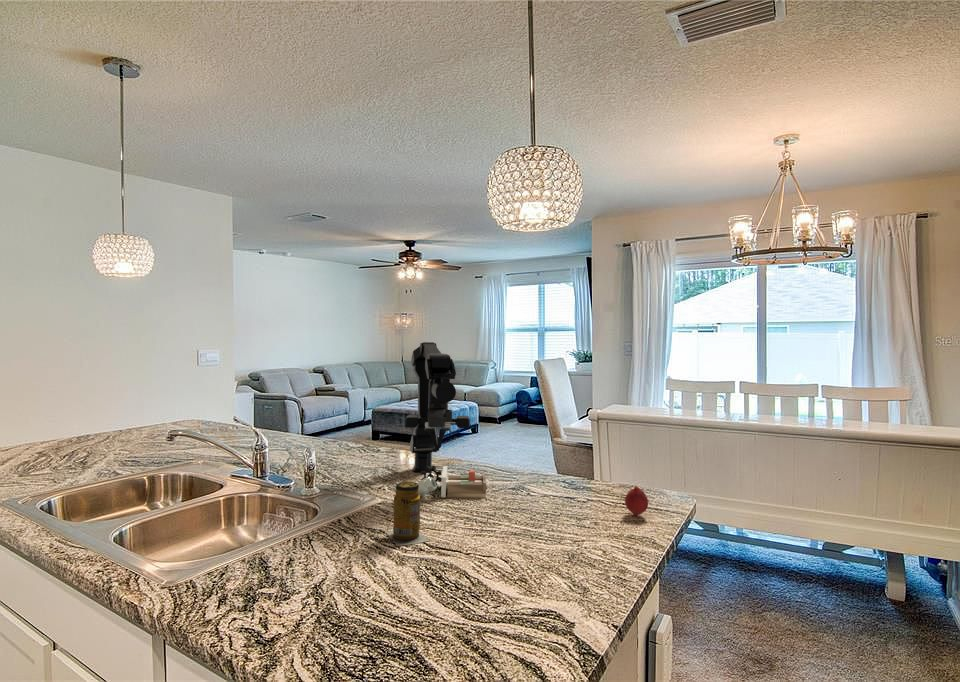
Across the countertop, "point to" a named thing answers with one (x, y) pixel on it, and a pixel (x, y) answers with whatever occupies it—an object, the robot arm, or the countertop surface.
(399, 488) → the condiment
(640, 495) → the onion
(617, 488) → the countertop surface
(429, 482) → the valve
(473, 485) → the gauge housing
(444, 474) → the white t-shaped slider
